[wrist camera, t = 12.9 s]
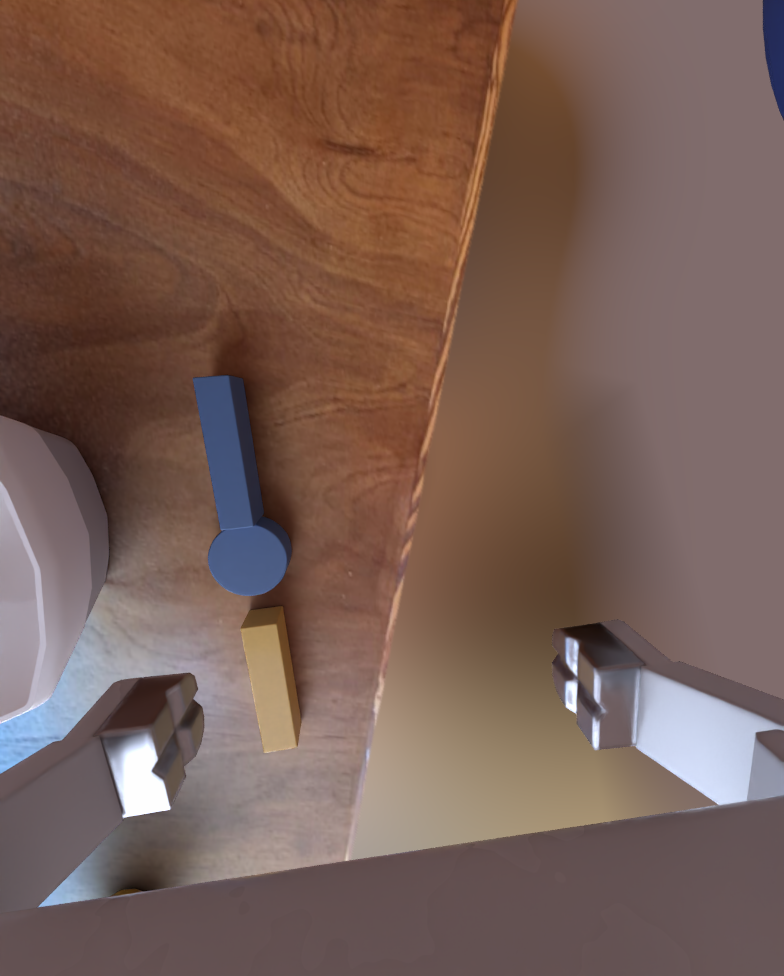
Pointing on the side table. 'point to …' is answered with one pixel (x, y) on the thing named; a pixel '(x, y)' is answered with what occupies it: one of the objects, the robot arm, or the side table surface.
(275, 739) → the fry
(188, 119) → the side table surface
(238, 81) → the side table surface
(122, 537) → the side table surface
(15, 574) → the bowl
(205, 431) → the blue rounded-end bar
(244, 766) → the side table surface
